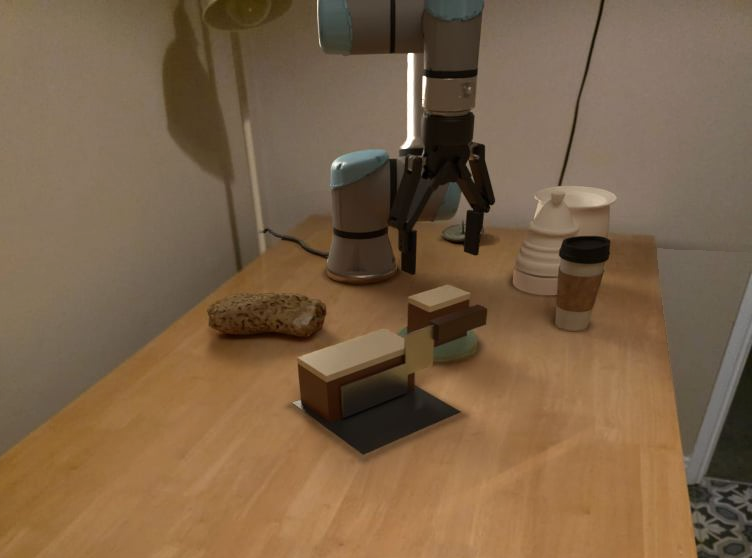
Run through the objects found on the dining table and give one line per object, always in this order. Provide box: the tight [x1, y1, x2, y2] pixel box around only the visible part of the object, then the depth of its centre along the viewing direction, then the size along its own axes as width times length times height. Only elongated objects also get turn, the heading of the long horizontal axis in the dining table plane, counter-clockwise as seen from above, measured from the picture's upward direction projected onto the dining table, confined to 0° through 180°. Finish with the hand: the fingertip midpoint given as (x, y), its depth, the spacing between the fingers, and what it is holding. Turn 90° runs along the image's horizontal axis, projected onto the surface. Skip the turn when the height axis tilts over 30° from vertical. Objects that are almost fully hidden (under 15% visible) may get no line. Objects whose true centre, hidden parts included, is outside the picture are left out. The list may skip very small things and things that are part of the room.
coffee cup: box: [554, 236, 612, 332], centre depth 118 cm, size 8×8×15 cm
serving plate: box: [396, 326, 479, 362], centre depth 116 cm, size 14×14×2 cm
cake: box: [296, 327, 416, 423], centre depth 99 cm, size 16×8×8 cm, turn 127°
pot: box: [533, 185, 618, 239], centre depth 150 cm, size 22×17×12 cm
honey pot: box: [512, 191, 580, 296], centre depth 133 cm, size 13×13×18 cm
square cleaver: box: [340, 304, 488, 418], centre depth 99 cm, size 27×2×10 cm, turn 127°
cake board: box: [292, 384, 462, 456], centre depth 99 cm, size 18×18×1 cm
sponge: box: [206, 292, 327, 338], centre depth 120 cm, size 13×8×20 cm
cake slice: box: [406, 283, 471, 347], centre depth 113 cm, size 6×9×8 cm, turn 127°
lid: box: [440, 218, 485, 242], centre depth 162 cm, size 11×10×5 cm
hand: (440, 262), depth 108 cm, fingers open, 13 cm apart
